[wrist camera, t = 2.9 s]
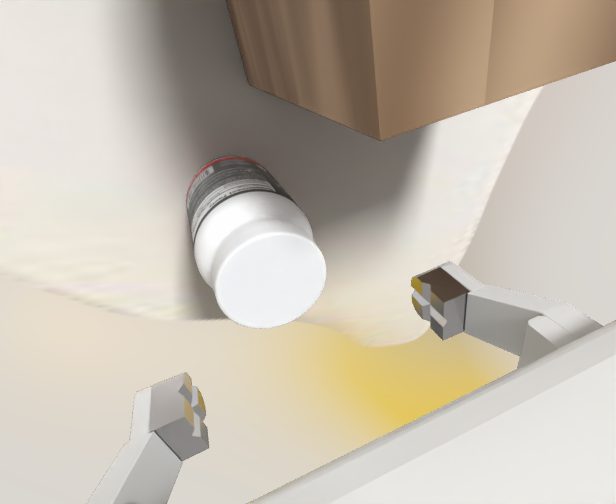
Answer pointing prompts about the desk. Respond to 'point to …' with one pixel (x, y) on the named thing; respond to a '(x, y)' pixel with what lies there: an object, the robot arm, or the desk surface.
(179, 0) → the desk surface
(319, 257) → the pill bottle
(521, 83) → the slot box
